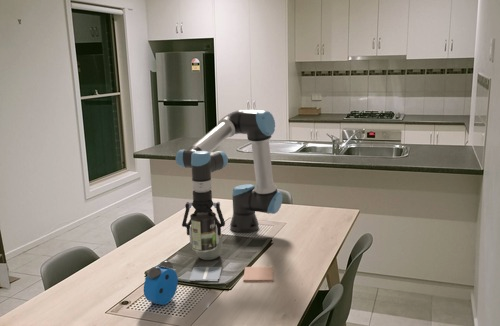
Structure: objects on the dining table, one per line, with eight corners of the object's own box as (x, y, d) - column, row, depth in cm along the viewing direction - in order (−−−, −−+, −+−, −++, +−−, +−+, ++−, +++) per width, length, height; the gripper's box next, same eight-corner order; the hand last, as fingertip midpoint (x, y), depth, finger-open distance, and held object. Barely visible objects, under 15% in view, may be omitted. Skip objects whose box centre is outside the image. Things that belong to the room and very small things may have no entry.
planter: (226, 253, 215) (226, 231, 213) (216, 264, 203) (215, 241, 201) (202, 250, 219) (201, 228, 217) (190, 261, 207) (189, 238, 205)
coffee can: (219, 243, 195) (218, 211, 192) (213, 253, 185) (211, 219, 182) (196, 242, 197) (194, 210, 194) (188, 251, 187) (186, 218, 184)
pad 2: (245, 268, 199) (245, 266, 198) (273, 268, 198) (273, 266, 198) (243, 281, 187) (243, 279, 187) (273, 281, 186) (273, 279, 186)
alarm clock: (166, 292, 180) (164, 256, 176) (179, 295, 177) (177, 259, 174) (144, 308, 168) (141, 269, 165) (157, 312, 165) (155, 273, 162)
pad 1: (194, 268, 200) (193, 266, 199) (221, 268, 199) (221, 266, 199) (189, 281, 188) (189, 279, 188) (218, 281, 187) (218, 279, 187)
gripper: (172, 192, 183) (175, 245, 187) (229, 192, 182) (231, 245, 186) (175, 187, 190) (178, 239, 195) (231, 187, 189) (232, 238, 194)
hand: (204, 242), depth 190 cm, fingers closed on coffee can, 10 cm apart
